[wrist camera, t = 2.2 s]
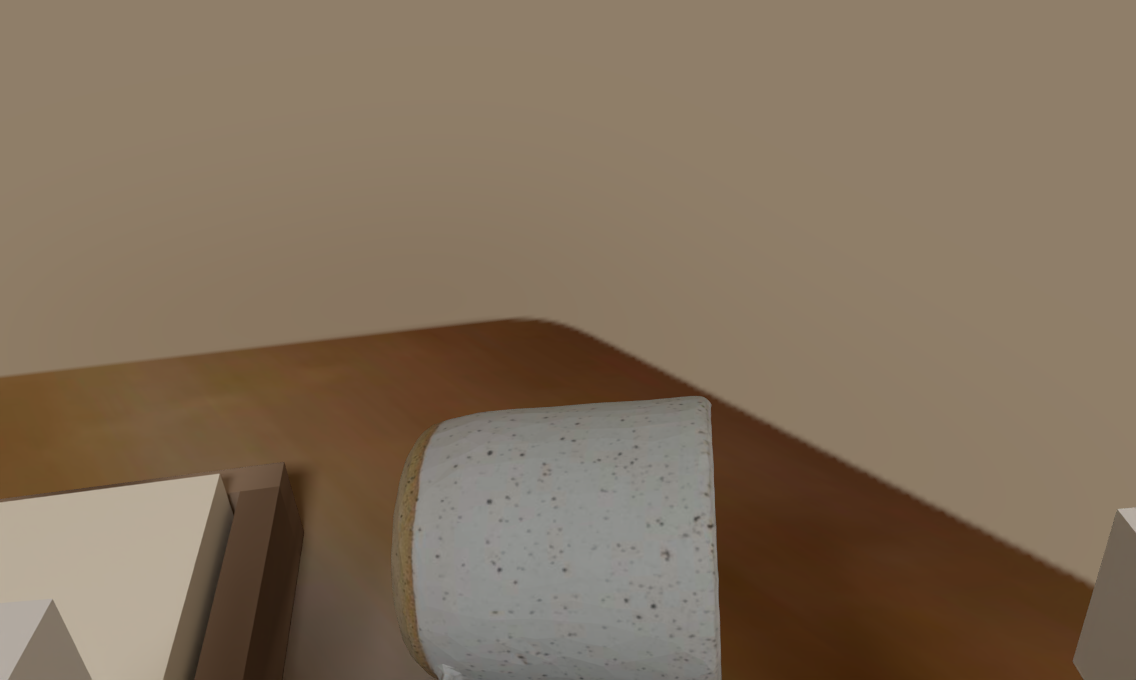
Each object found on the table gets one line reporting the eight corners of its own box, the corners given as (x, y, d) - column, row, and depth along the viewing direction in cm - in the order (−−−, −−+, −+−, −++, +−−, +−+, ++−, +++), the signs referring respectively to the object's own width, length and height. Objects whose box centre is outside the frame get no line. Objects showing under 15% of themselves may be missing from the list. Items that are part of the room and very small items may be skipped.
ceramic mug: (459, 544, 31) (424, 347, 27) (714, 546, 31) (718, 342, 26) (381, 873, 23) (311, 655, 18) (737, 888, 22) (748, 663, 18)
